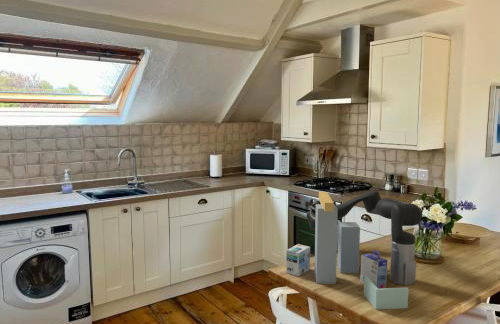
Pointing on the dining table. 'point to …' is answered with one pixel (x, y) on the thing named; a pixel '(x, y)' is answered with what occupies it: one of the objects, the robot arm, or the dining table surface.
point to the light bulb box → (298, 260)
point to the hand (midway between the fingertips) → (321, 201)
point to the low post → (348, 247)
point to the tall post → (325, 245)
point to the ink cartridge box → (374, 269)
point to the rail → (326, 201)
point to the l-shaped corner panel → (385, 296)
